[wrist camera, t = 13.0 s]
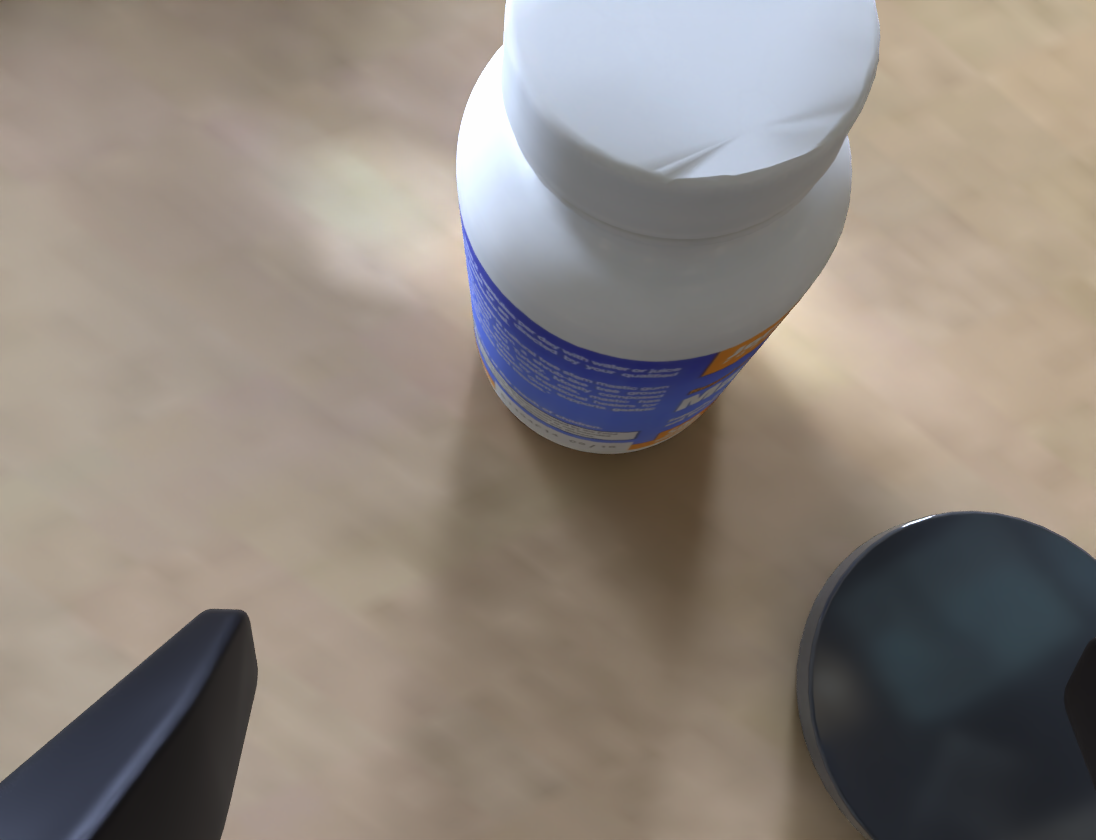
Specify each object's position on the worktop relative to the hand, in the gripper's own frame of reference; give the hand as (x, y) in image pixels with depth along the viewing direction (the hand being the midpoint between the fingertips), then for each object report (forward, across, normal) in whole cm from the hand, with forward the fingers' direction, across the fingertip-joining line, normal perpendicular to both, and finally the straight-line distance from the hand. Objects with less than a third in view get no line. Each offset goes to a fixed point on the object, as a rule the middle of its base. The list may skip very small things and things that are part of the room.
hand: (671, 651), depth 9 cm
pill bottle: (+10, 0, +1) cm, 10 cm away
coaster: (+5, -7, +6) cm, 11 cm away
